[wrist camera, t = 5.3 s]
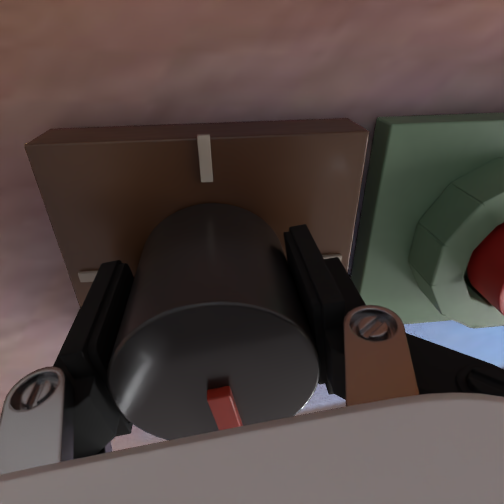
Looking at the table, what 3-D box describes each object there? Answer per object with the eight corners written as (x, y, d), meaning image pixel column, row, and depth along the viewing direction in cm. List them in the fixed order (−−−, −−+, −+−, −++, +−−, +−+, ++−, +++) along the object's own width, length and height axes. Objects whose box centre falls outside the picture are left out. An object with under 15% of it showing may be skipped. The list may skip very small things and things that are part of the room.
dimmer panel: (111, 332, 16) (99, 370, 15) (48, 125, 12) (18, 142, 10) (323, 315, 17) (337, 348, 15) (348, 114, 12) (373, 128, 11)
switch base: (344, 311, 17) (368, 360, 15) (376, 116, 12) (419, 138, 10) (536, 296, 18) (589, 339, 16) (634, 107, 13) (734, 125, 11)
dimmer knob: (119, 219, 11) (60, 343, 7) (273, 187, 11) (316, 290, 7) (166, 331, 14) (147, 473, 9) (291, 305, 14) (331, 435, 9)
